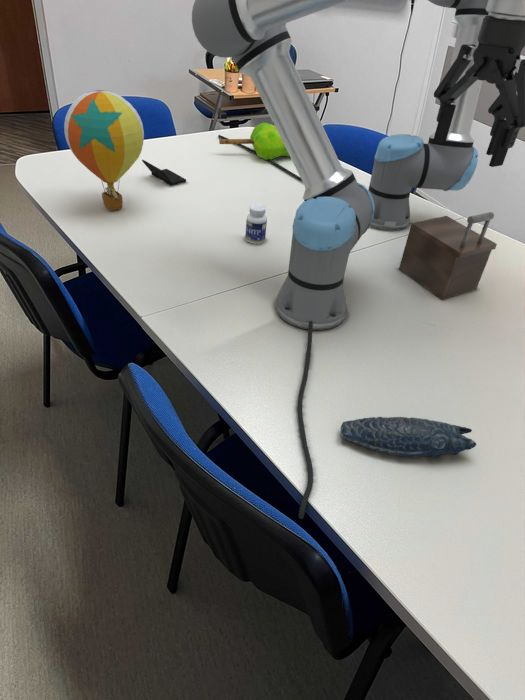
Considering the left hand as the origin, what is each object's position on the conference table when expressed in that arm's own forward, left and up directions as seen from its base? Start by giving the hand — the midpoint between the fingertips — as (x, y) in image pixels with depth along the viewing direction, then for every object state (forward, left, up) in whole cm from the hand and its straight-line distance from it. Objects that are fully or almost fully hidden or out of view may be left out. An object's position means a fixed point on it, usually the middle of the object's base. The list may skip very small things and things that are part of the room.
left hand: (466, 153), depth 95 cm
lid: (+14, -6, -23) cm, 28 cm away
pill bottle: (+22, +41, -34) cm, 58 cm away
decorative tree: (+88, +50, -34) cm, 107 cm away
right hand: (+7, -12, -3) cm, 15 cm away
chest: (+15, -6, -34) cm, 38 cm away
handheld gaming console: (+54, +75, -34) cm, 99 cm away
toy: (+29, +82, -34) cm, 94 cm away
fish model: (-42, +6, -34) cm, 55 cm away
